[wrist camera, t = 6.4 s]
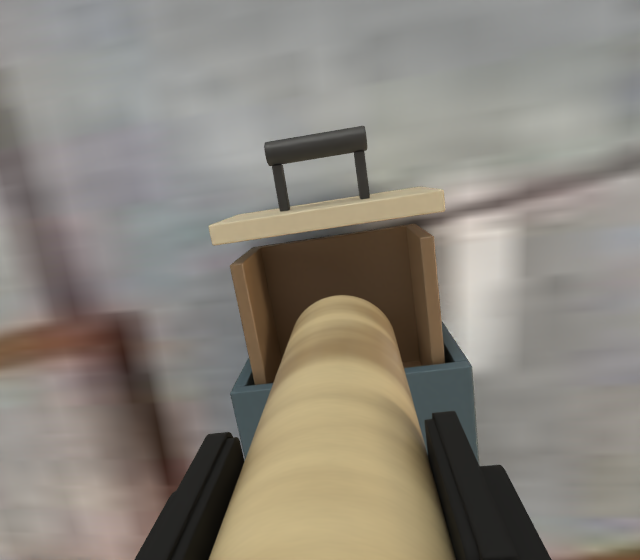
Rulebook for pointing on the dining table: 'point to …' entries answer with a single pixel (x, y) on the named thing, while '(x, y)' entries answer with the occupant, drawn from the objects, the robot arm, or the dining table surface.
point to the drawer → (335, 258)
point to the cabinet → (424, 383)
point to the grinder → (337, 452)
